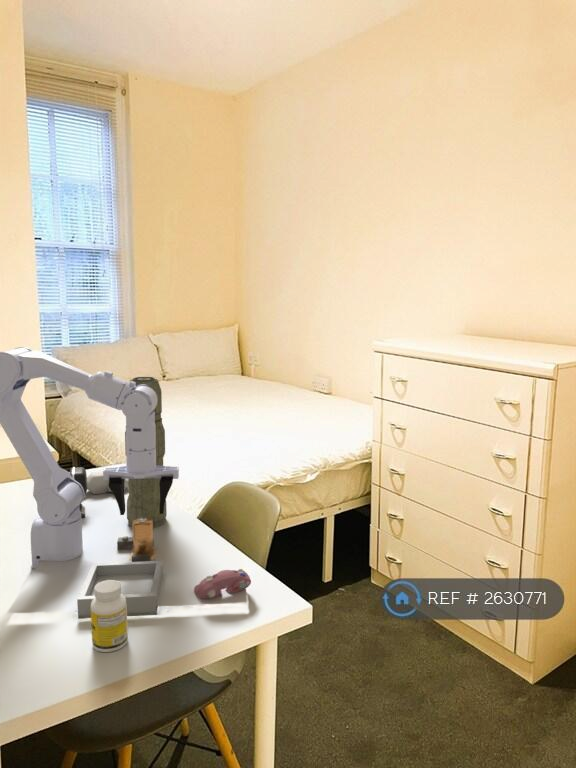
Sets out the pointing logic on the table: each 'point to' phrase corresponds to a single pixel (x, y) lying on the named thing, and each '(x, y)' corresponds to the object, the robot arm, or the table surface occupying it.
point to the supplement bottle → (109, 617)
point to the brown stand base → (127, 544)
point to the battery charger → (80, 477)
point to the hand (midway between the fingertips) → (142, 512)
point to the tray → (135, 602)
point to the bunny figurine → (100, 483)
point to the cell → (142, 536)
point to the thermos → (147, 490)
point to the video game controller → (222, 583)
